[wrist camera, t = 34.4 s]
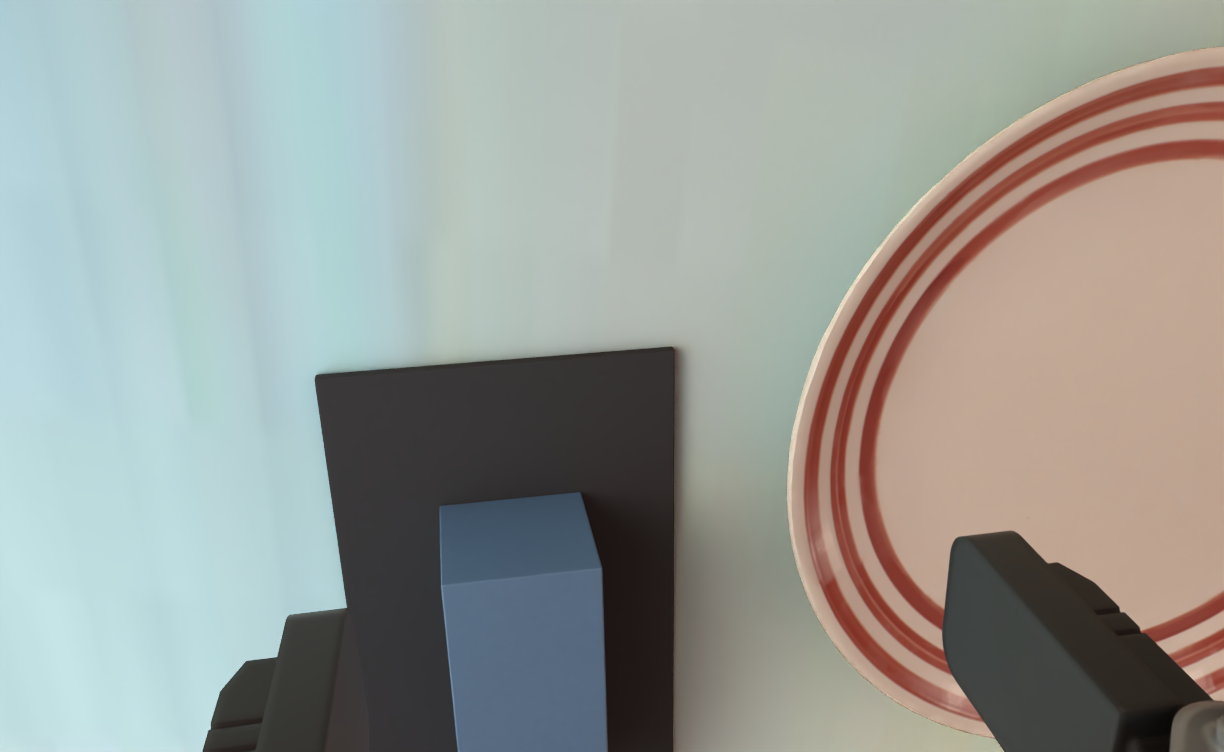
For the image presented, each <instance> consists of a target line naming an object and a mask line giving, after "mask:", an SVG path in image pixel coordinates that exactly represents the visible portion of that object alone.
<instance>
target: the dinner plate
mask: <svg viewBox="0 0 1224 752" xmlns="http://www.w3.org/2000/svg"><path fill="white" fill-rule="evenodd" d="M787 508H788V522H789V530H790V537H791V544H792V548H793V553H794V557H795V562H796V565H797V569H798V572H799V575H800V579H801V581H802V584H803V587H804V589H805V592H806V594H807V597H808V600H809V602H810V605H811V606H812V608H813V610H814V612H815V614H816V616H817V617H818V619H819V621H820V623H821V625H822V626H823V628H824V630H825V631H826V633H827V634H828V636H829V637H830V639H831V640H832V642H833V643H834V645H835V646H836V648H837V649H838V650H839V652H840V653H841V654H842V655H843V656H844V658H845V659H846V660H847V661H848V662H849V663H850V664H851V665H852V666H853V667H854V668H855V669H856V670H857V671H858V672H859V673H860V674H861V675H862V676H863V677H864V678H865V679H867V680H868V681H869V682H870V683H871V684H873V685H874V686H875V687H876V688H877V689H879V690H880V691H881V692H882V693H884V694H885V695H887V696H888V697H890V698H891V699H893V700H894V701H895V702H897V703H899V704H900V705H902V706H904V707H906V708H907V709H909V710H911V711H912V712H914V713H917V714H919V715H921V716H923V717H926V718H928V719H930V720H932V721H935V722H937V723H939V724H942V725H945V726H948V727H951V728H954V729H957V730H960V731H964V732H967V733H971V734H976V735H980V736H985V737H990V738H995V737H994V736H993V734H992V733H991V731H990V730H989V728H988V727H987V725H986V724H985V723H984V721H983V720H982V718H981V717H980V715H979V714H978V712H977V711H976V710H975V708H974V707H973V705H972V704H971V702H970V701H969V699H968V698H967V697H966V695H965V694H964V692H963V691H962V689H961V688H960V686H959V685H958V684H957V682H956V681H955V679H954V677H953V676H952V674H951V672H950V669H949V667H948V664H947V661H946V658H945V654H944V649H943V641H942V627H943V617H944V608H945V598H946V588H947V579H948V569H949V559H950V551H951V547H952V544H953V542H954V540H955V539H956V538H957V537H960V536H968V535H976V534H985V533H993V532H1001V531H1010V530H1011V531H1015V532H1017V533H1018V534H1019V535H1021V536H1022V537H1023V538H1024V539H1025V541H1026V542H1027V543H1028V544H1029V545H1030V546H1031V547H1032V548H1033V549H1034V550H1035V551H1036V552H1037V553H1038V554H1039V555H1040V556H1041V557H1042V558H1043V559H1044V560H1045V561H1046V562H1047V563H1055V562H1058V563H1060V564H1062V565H1064V566H1066V567H1068V568H1069V569H1071V570H1073V571H1075V572H1077V573H1078V574H1080V575H1082V576H1084V577H1086V578H1088V579H1089V580H1091V581H1093V582H1095V583H1096V584H1097V585H1098V586H1099V587H1100V588H1101V589H1102V590H1103V591H1104V592H1105V593H1106V594H1107V595H1108V596H1109V597H1110V598H1111V599H1112V600H1113V601H1114V602H1115V603H1116V604H1117V605H1118V606H1119V607H1120V612H1125V613H1126V614H1127V615H1128V616H1129V617H1130V618H1131V619H1132V620H1133V621H1134V622H1135V623H1136V624H1137V625H1138V626H1139V627H1140V631H1141V633H1146V634H1147V635H1148V636H1149V637H1150V638H1151V639H1152V640H1153V641H1154V642H1155V643H1156V644H1157V645H1158V646H1160V647H1161V648H1162V649H1163V650H1164V651H1165V652H1166V653H1167V654H1168V655H1169V656H1170V657H1171V658H1172V659H1173V660H1174V661H1175V662H1176V663H1177V664H1178V665H1179V666H1180V667H1181V668H1182V669H1183V670H1184V671H1185V672H1186V673H1187V674H1188V675H1189V676H1190V677H1191V678H1192V679H1193V680H1194V681H1195V682H1196V683H1197V684H1198V685H1199V686H1200V687H1201V688H1202V689H1203V690H1204V691H1205V692H1206V693H1207V694H1208V695H1209V696H1210V697H1211V698H1212V699H1213V700H1214V701H1224V46H1223V47H1213V48H1204V49H1198V50H1192V51H1186V52H1182V53H1177V54H1173V55H1169V56H1166V57H1162V58H1158V59H1154V60H1151V61H1147V62H1143V63H1139V64H1136V65H1132V66H1129V67H1127V68H1124V69H1121V70H1119V71H1116V72H1113V73H1111V74H1108V75H1105V76H1103V77H1100V78H1097V79H1095V80H1092V81H1090V82H1088V83H1086V84H1084V85H1082V86H1080V87H1078V88H1076V89H1074V90H1071V91H1069V92H1067V93H1065V94H1063V95H1061V96H1059V97H1057V98H1055V99H1053V100H1051V101H1050V102H1048V103H1046V104H1044V105H1042V106H1041V107H1039V108H1037V109H1035V110H1034V111H1032V112H1030V113H1028V114H1027V115H1025V116H1023V117H1022V118H1020V119H1019V120H1017V121H1016V122H1014V123H1013V124H1011V125H1010V126H1008V127H1007V128H1005V129H1004V130H1002V131H1001V132H999V133H998V134H996V135H995V136H993V137H992V138H991V139H989V140H988V141H987V142H985V143H984V144H983V145H981V146H980V147H979V148H977V149H976V150H975V151H973V152H972V153H971V154H969V155H968V156H967V157H966V158H965V159H964V160H963V161H961V162H960V163H959V164H958V165H957V166H956V167H955V168H954V169H953V170H951V171H950V172H949V173H948V174H946V176H945V177H944V178H943V179H942V180H941V181H940V182H938V183H937V184H936V185H934V186H933V187H932V188H931V189H930V190H929V191H928V192H927V193H926V194H925V195H924V196H923V197H922V198H921V199H920V200H919V201H918V202H917V203H916V204H915V205H914V207H913V208H912V209H911V210H910V211H909V212H908V213H907V214H906V215H905V216H904V218H903V219H902V220H901V221H900V222H899V223H898V224H897V225H896V227H895V228H894V229H893V230H892V231H891V233H890V234H889V235H888V236H887V238H886V239H885V240H884V241H883V243H882V244H881V245H880V246H879V248H878V249H877V250H876V251H875V253H874V254H873V255H872V257H871V258H870V259H869V261H868V262H867V263H866V265H865V266H864V268H863V269H862V271H861V272H860V273H859V275H858V276H857V278H856V280H855V281H854V282H853V284H852V285H851V287H850V289H849V290H848V292H847V294H846V295H845V297H844V299H843V300H842V302H841V304H840V306H839V308H838V309H837V311H836V313H835V315H834V317H833V318H832V320H831V322H830V324H829V326H828V328H827V330H826V332H825V334H824V335H823V337H822V339H821V342H820V344H819V347H818V349H817V351H816V354H815V356H814V358H813V361H812V364H811V366H810V369H809V372H808V375H807V378H806V381H805V384H804V387H803V391H802V394H801V398H800V401H799V405H798V410H797V415H796V419H795V422H794V426H793V430H792V437H791V444H790V451H789V460H788V477H787Z"/></svg>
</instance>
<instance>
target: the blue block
mask: <svg viewBox="0 0 1224 752" xmlns="http://www.w3.org/2000/svg"><path fill="white" fill-rule="evenodd" d="M439 510H440V559H441V591H442V600H443V610H444V620H445V630H446V640H447V649H448V659H449V669H450V679H451V689H452V698H453V708H454V718H455V728H456V738H457V747H458V752H608V737H607V704H606V671H605V638H604V605H603V572H602V565H601V562H600V558H599V555H598V551H597V548H596V544H595V541H594V537H593V533H592V530H591V526H590V523H589V519H588V516H587V512H586V509H585V505H584V501H583V498H582V494H581V492H575V493H565V494H555V495H545V496H535V497H525V498H515V499H505V500H495V501H485V502H475V503H465V504H455V505H445V506H440V508H439Z"/></svg>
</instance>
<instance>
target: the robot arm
mask: <svg viewBox="0 0 1224 752" xmlns="http://www.w3.org/2000/svg"><path fill="white" fill-rule="evenodd" d="M942 641H943V649H944V654H945V658H946V661H947V664H948V667H949V669H950V672H951V674H952V676H953V677H954V679H955V681H956V682H957V684H958V685H959V686H960V688H961V689H962V691H963V692H964V694H965V695H966V697H967V698H968V699H969V701H970V702H971V704H972V705H973V707H974V708H975V710H976V711H977V712H978V714H979V715H980V717H981V718H982V720H983V721H984V723H985V724H986V725H987V727H988V728H989V730H990V731H991V733H992V734H993V736H994V737H995V739H996V740H997V741H998V743H999V744H1000V746H1001V747H1002V749H1003V750H1004V752H1224V701H1214V700H1213V699H1212V698H1211V697H1210V696H1209V695H1208V694H1207V693H1206V692H1205V691H1204V690H1203V689H1202V688H1201V687H1200V686H1199V685H1198V684H1197V683H1196V682H1195V681H1194V680H1193V679H1192V678H1191V677H1190V676H1189V675H1188V674H1187V673H1186V672H1185V671H1184V670H1183V669H1182V668H1181V667H1180V666H1179V665H1178V664H1177V663H1176V662H1175V661H1174V660H1173V659H1172V658H1171V657H1170V656H1169V655H1168V654H1167V653H1166V652H1165V651H1164V650H1163V649H1162V648H1161V647H1160V646H1158V645H1157V644H1156V643H1155V642H1154V641H1153V640H1152V639H1151V638H1150V637H1149V636H1148V635H1147V634H1146V633H1141V631H1140V627H1139V626H1138V625H1137V624H1136V623H1135V622H1134V621H1133V620H1132V619H1131V618H1130V617H1129V616H1128V615H1127V614H1126V613H1125V612H1120V607H1119V606H1118V605H1117V604H1116V603H1115V602H1114V601H1113V600H1112V599H1111V598H1110V597H1109V596H1108V595H1107V594H1106V593H1105V592H1104V591H1103V590H1102V589H1101V588H1100V587H1099V586H1098V585H1097V584H1096V583H1095V582H1093V581H1091V580H1089V579H1088V578H1086V577H1084V576H1082V575H1080V574H1078V573H1077V572H1075V571H1073V570H1071V569H1069V568H1068V567H1066V566H1064V565H1062V564H1060V563H1058V562H1055V563H1047V562H1046V561H1045V560H1044V559H1043V558H1042V557H1041V556H1040V555H1039V554H1038V553H1037V552H1036V551H1035V550H1034V549H1033V548H1032V547H1031V546H1030V545H1029V544H1028V543H1027V542H1026V541H1025V539H1024V538H1023V537H1022V536H1021V535H1019V534H1018V533H1017V532H1015V531H1011V530H1010V531H1001V532H993V533H985V534H976V535H968V536H960V537H957V538H956V539H955V540H954V542H953V544H952V547H951V551H950V559H949V569H948V579H947V588H946V598H945V608H944V617H943V627H942ZM203 752H369V721H368V711H367V703H366V697H365V691H364V685H363V679H362V673H361V667H360V661H359V656H358V650H357V644H356V638H355V632H354V626H353V620H352V616H351V613H350V610H349V609H348V608H344V609H335V610H327V611H318V612H310V613H302V614H293V615H289V616H288V617H287V619H286V622H285V627H284V631H283V635H282V639H281V644H280V648H279V652H278V657H276V658H268V659H260V660H252V661H246V662H245V663H244V664H243V666H242V667H241V668H240V669H239V670H238V671H237V673H236V674H235V675H234V676H233V677H232V678H231V680H230V681H229V682H228V683H227V684H226V685H225V687H224V688H223V689H222V690H221V691H220V694H219V698H218V701H217V704H216V708H215V711H214V714H213V718H212V721H211V730H209V731H208V734H207V738H206V741H205V745H204V748H203Z"/></svg>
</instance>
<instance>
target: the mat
mask: <svg viewBox="0 0 1224 752" xmlns="http://www.w3.org/2000/svg"><path fill="white" fill-rule="evenodd" d="M315 386H316V393H317V400H318V407H319V414H320V421H321V428H322V435H323V442H324V449H325V456H326V463H327V470H328V477H329V484H330V491H331V498H332V505H333V512H334V519H335V526H336V533H337V540H338V547H339V554H340V561H341V568H342V575H343V582H344V589H345V596H346V603H347V608H348V609H349V610H350V613H351V616H352V620H353V626H354V632H355V638H356V644H357V650H358V656H359V661H360V667H361V673H362V679H363V685H364V691H365V697H366V703H367V711H368V721H369V752H458V747H457V738H456V728H455V718H454V708H453V698H452V689H451V679H450V669H449V659H448V649H447V640H446V630H445V620H444V610H443V600H442V591H441V559H440V510H439V508H440V506H445V505H455V504H465V503H475V502H485V501H495V500H505V499H515V498H525V497H535V496H545V495H555V494H565V493H575V492H581V494H582V498H583V501H584V505H585V509H586V512H587V516H588V519H589V523H590V526H591V530H592V533H593V537H594V541H595V544H596V548H597V551H598V555H599V558H600V562H601V565H602V572H603V605H604V638H605V671H606V704H607V737H608V752H673V649H674V349H673V348H672V347H664V348H651V349H639V350H626V351H613V352H601V353H588V354H575V355H562V356H550V357H537V358H524V359H512V360H499V361H486V362H474V363H461V364H448V365H436V366H423V367H410V368H397V369H385V370H372V371H359V372H347V373H334V374H321V375H316V377H315Z"/></svg>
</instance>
